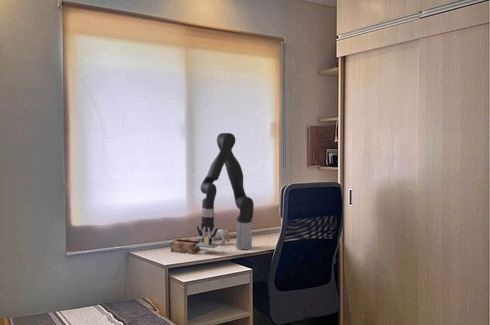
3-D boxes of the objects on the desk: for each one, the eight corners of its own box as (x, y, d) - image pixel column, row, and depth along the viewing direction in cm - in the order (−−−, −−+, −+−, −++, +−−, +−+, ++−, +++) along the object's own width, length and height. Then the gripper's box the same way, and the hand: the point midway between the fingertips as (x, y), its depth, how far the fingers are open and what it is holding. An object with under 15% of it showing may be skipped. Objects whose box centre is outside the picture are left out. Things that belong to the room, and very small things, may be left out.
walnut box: (199, 249, 310) (199, 239, 310) (192, 254, 299) (192, 244, 298) (178, 247, 314) (178, 237, 313) (170, 251, 302) (170, 242, 302)
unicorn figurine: (198, 245, 320) (199, 224, 319) (225, 242, 330) (226, 222, 329) (203, 247, 314) (203, 226, 313) (230, 244, 324) (231, 224, 323)
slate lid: (218, 244, 304) (218, 235, 304) (214, 248, 297) (214, 238, 296) (200, 242, 308) (200, 233, 307) (195, 246, 300) (195, 237, 299)
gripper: (220, 215, 302) (220, 243, 304) (199, 213, 306) (198, 241, 307) (216, 217, 295) (216, 246, 297) (194, 215, 299) (194, 243, 300)
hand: (207, 243), depth 302 cm, fingers closed on slate lid, 3 cm apart
